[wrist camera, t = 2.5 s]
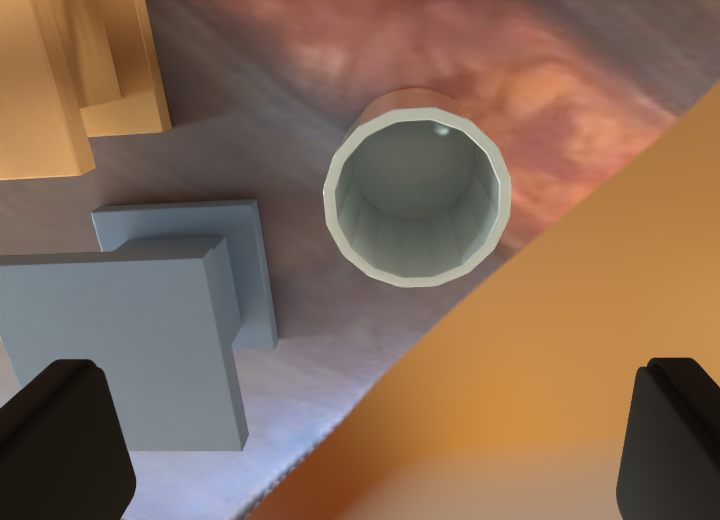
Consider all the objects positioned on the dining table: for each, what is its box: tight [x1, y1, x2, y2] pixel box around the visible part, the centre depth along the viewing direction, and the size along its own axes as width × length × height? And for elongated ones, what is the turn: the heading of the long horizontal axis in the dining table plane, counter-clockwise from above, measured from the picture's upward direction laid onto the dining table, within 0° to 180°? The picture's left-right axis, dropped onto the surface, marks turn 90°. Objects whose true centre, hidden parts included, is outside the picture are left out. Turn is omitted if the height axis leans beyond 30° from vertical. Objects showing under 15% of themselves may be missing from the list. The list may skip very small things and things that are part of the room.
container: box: [323, 88, 512, 287], centre depth 20 cm, size 6×6×7 cm
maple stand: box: [0, 0, 172, 180], centre depth 19 cm, size 8×8×8 cm
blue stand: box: [0, 199, 279, 451], centre depth 23 cm, size 8×8×8 cm
